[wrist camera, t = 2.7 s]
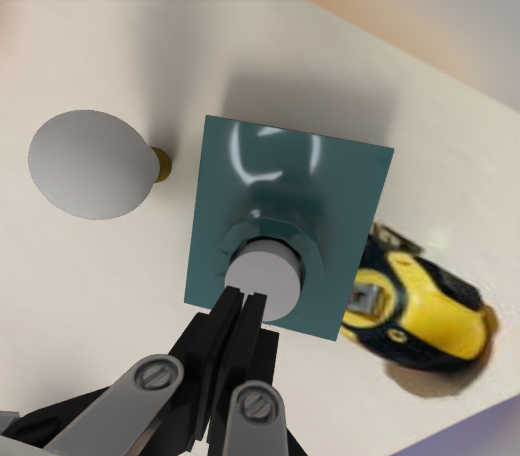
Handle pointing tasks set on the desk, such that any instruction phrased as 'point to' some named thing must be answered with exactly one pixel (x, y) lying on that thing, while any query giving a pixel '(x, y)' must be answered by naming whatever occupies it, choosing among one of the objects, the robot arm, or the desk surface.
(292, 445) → the robot arm
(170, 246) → the desk surface
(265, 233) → the teal button base
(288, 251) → the grey push button
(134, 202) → the light bulb
